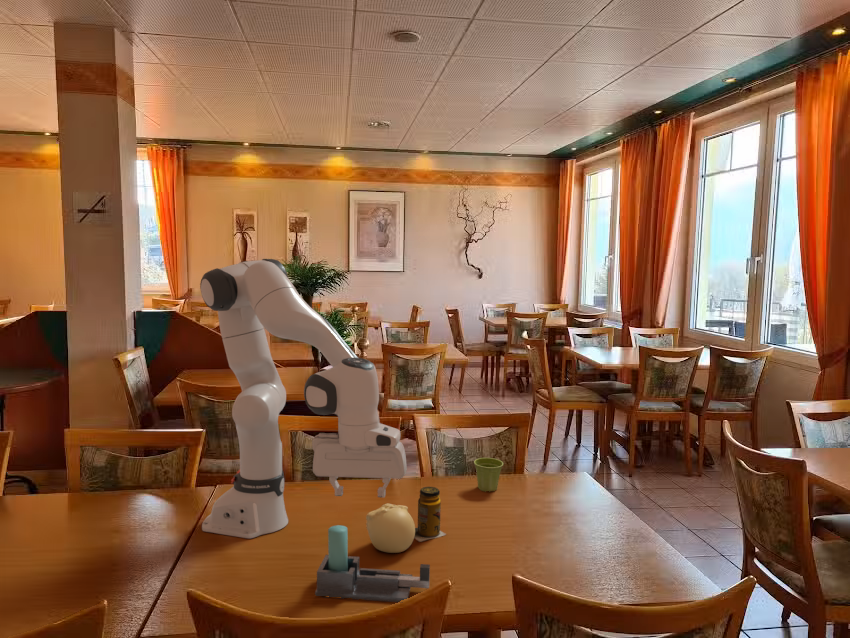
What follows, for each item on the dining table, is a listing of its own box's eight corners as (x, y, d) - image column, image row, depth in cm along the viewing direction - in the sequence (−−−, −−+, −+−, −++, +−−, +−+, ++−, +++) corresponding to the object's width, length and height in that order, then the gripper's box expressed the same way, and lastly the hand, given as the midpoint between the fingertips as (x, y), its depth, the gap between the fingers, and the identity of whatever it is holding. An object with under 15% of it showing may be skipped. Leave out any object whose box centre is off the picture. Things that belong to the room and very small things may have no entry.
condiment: (446, 535, 165) (447, 491, 163) (419, 542, 160) (420, 497, 159) (431, 525, 171) (432, 482, 170) (405, 531, 166) (405, 488, 165)
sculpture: (398, 533, 165) (399, 494, 164) (422, 551, 155) (423, 509, 154) (360, 542, 159) (360, 502, 158) (382, 562, 149) (383, 519, 148)
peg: (326, 585, 136) (326, 533, 135) (331, 575, 140) (330, 524, 139) (345, 586, 136) (345, 534, 134) (349, 576, 140) (349, 525, 139)
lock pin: (429, 584, 137) (429, 564, 137) (428, 588, 135) (429, 568, 135) (375, 581, 138) (375, 561, 138) (374, 584, 136) (374, 564, 136)
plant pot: (506, 486, 201) (507, 460, 200) (497, 496, 192) (498, 469, 192) (478, 481, 205) (479, 456, 204) (469, 491, 196) (469, 464, 195)
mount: (412, 578, 142) (412, 557, 141) (407, 602, 132) (407, 580, 131) (326, 573, 143) (326, 552, 143) (315, 596, 133) (315, 574, 133)
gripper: (307, 436, 131) (309, 499, 133) (403, 439, 129) (404, 503, 131) (316, 428, 138) (317, 489, 139) (407, 430, 136) (408, 491, 137)
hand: (360, 495), depth 135 cm, fingers open, 8 cm apart
